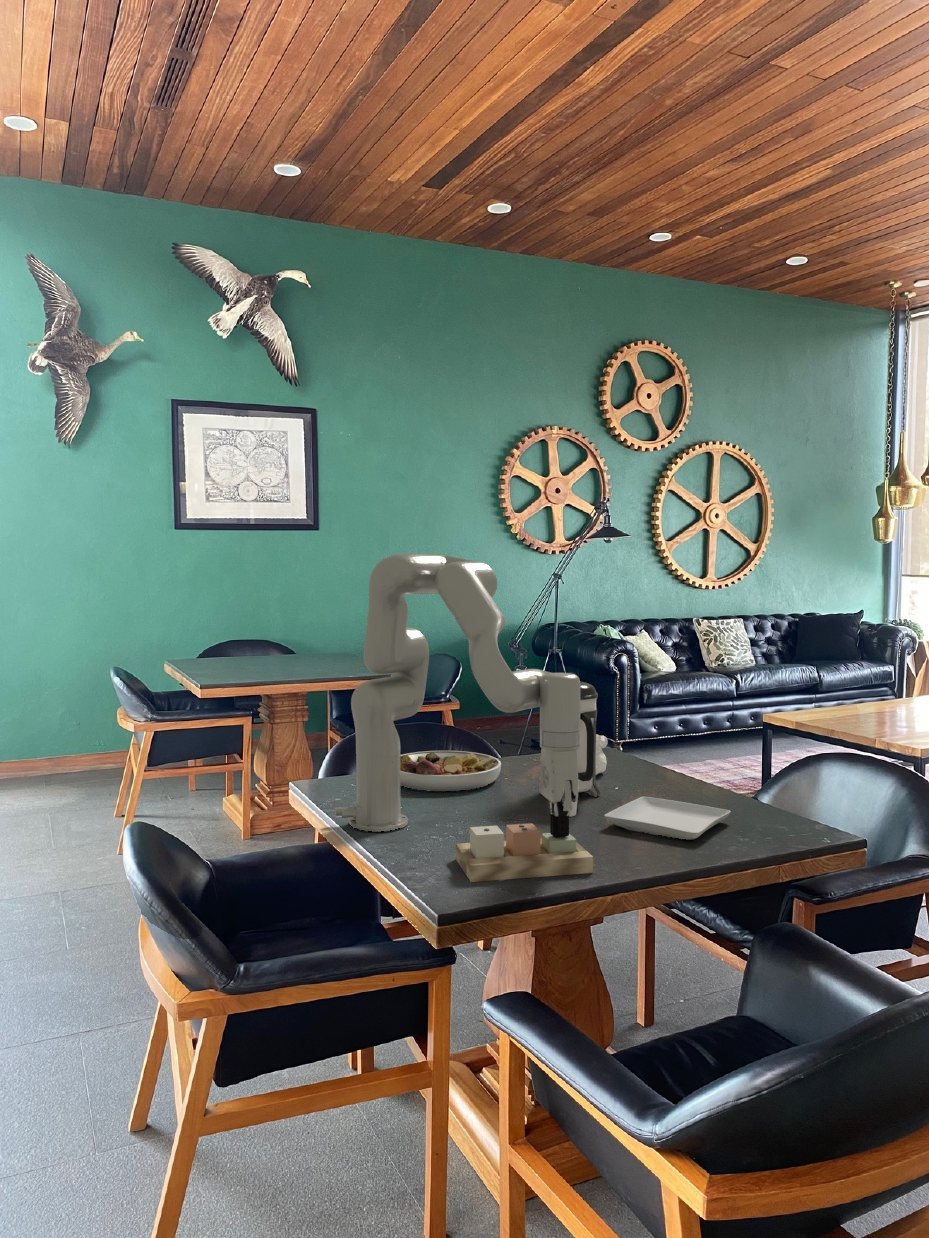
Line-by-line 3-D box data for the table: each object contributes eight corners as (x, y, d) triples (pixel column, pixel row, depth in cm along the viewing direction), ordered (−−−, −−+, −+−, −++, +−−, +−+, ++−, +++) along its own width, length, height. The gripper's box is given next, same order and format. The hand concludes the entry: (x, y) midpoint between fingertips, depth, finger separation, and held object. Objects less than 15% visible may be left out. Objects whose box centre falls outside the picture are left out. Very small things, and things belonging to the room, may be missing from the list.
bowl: (410, 765, 262) (410, 737, 261) (513, 772, 253) (514, 744, 252) (366, 790, 233) (366, 759, 233) (481, 799, 224) (481, 767, 224)
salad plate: (732, 823, 204) (732, 808, 204) (697, 848, 187) (698, 831, 187) (642, 808, 216) (642, 794, 216) (601, 830, 199) (601, 815, 199)
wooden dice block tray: (470, 881, 166) (470, 865, 166) (455, 859, 179) (455, 843, 179) (593, 872, 171) (593, 856, 171) (570, 851, 184) (570, 836, 183)
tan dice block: (513, 859, 172) (513, 831, 171) (505, 850, 177) (506, 823, 176) (540, 857, 173) (540, 829, 172) (532, 849, 178) (532, 822, 178)
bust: (603, 785, 246) (627, 750, 247) (582, 769, 244) (607, 734, 246) (585, 775, 258) (608, 742, 259) (565, 760, 256) (588, 727, 257)
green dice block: (549, 867, 173) (549, 840, 173) (541, 859, 178) (541, 832, 178) (576, 865, 174) (576, 838, 174) (567, 857, 179) (567, 830, 179)
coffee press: (526, 795, 227) (527, 673, 225) (557, 783, 240) (558, 667, 238) (591, 806, 217) (592, 678, 215) (620, 792, 230) (621, 671, 228)
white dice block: (476, 862, 170) (476, 834, 170) (469, 853, 175) (469, 826, 175) (503, 860, 171) (503, 832, 171) (496, 851, 176) (496, 824, 176)
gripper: (529, 732, 181) (529, 825, 182) (553, 747, 167) (552, 848, 168) (566, 731, 183) (565, 823, 184) (592, 745, 168) (592, 845, 169)
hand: (559, 835), depth 176 cm, fingers closed
